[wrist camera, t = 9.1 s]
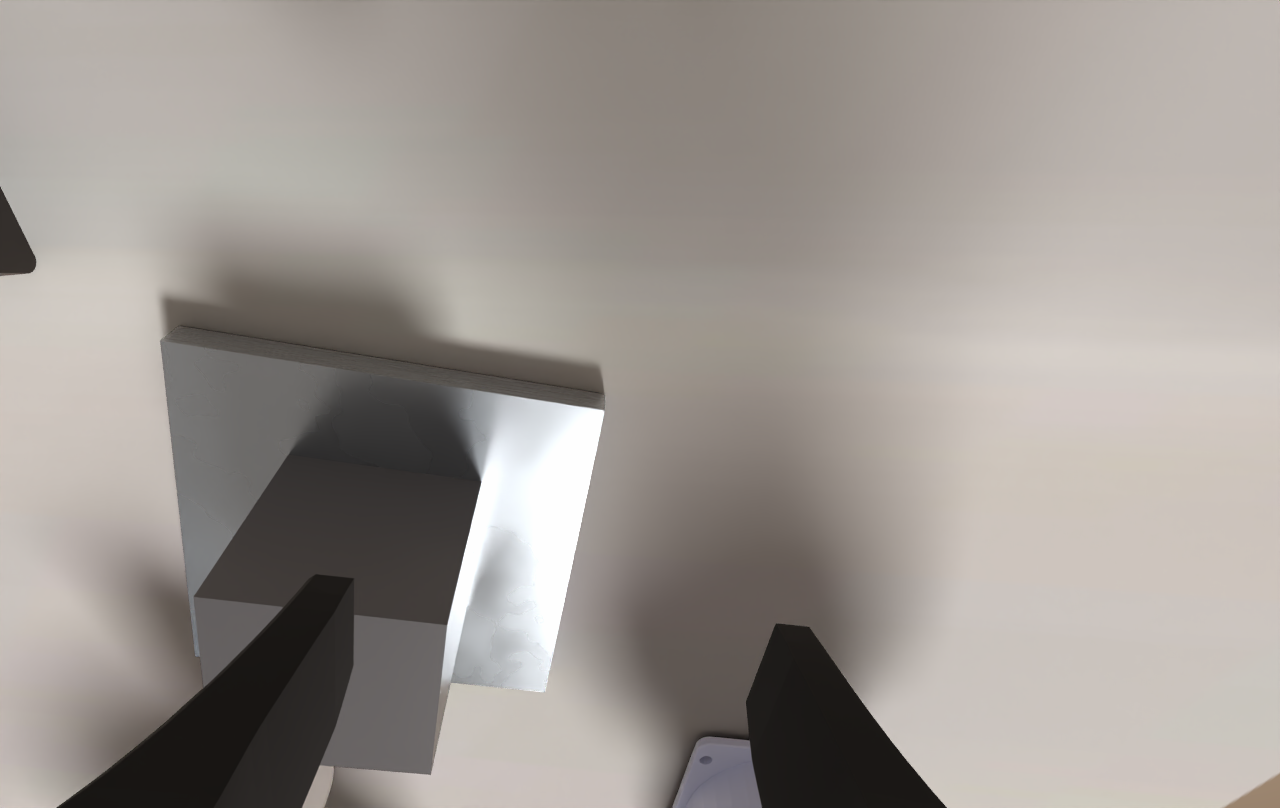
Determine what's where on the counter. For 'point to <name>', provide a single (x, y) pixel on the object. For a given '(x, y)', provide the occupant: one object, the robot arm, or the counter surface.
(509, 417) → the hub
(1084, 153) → the counter surface
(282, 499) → the grey cube with stripe
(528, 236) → the counter surface
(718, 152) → the counter surface
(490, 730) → the counter surface
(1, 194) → the phone stand
